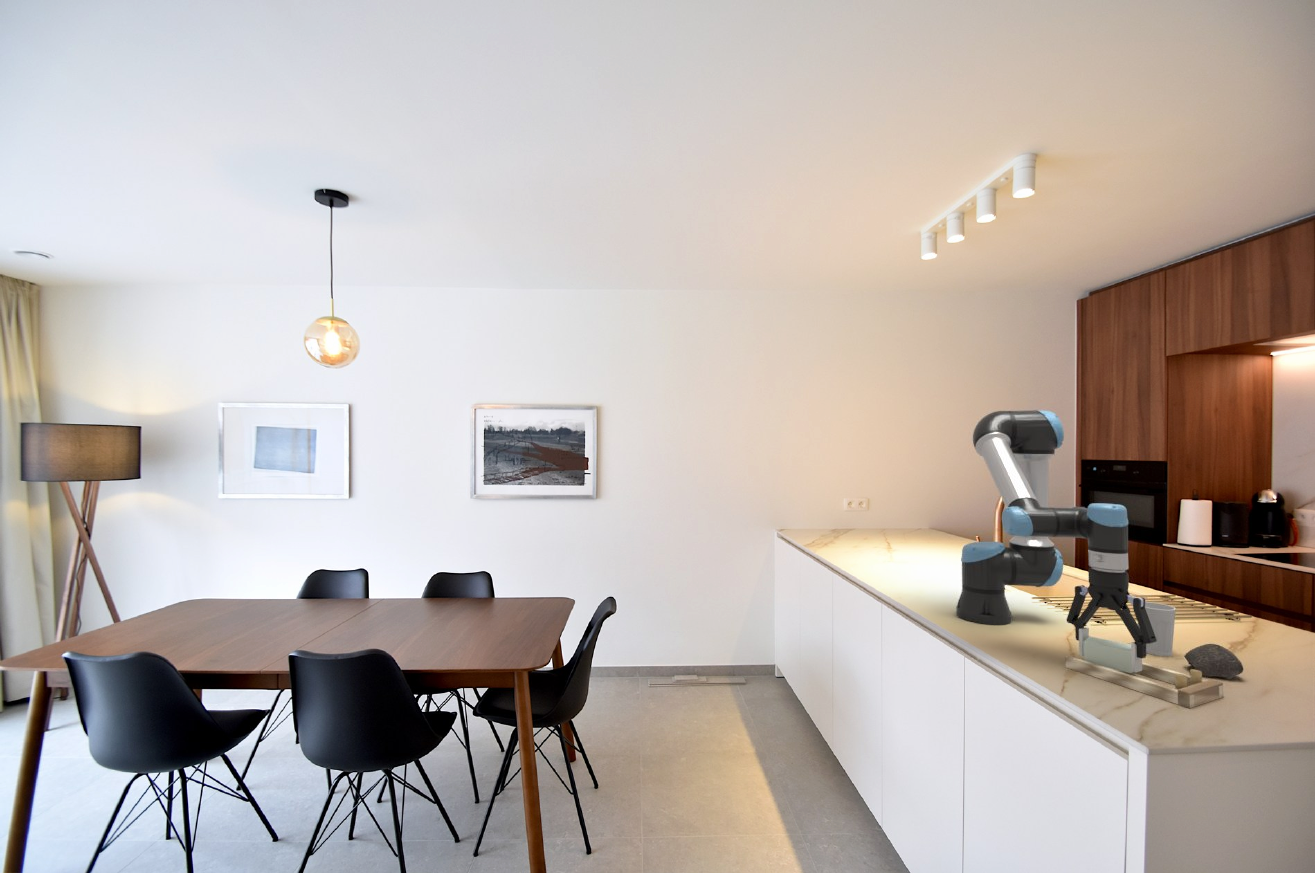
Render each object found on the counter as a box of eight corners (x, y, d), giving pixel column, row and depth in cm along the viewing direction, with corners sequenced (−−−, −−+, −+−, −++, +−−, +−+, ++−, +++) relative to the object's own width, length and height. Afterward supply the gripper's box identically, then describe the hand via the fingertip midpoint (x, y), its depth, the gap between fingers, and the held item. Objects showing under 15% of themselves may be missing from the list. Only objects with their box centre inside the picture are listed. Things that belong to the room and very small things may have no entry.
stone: (1179, 683, 139) (1189, 664, 133) (1180, 652, 143) (1190, 632, 137) (1235, 699, 133) (1249, 681, 127) (1234, 666, 138) (1247, 646, 131)
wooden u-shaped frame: (1065, 667, 139) (1065, 646, 139) (1098, 659, 144) (1098, 639, 144) (1190, 708, 117) (1189, 683, 117) (1223, 696, 122) (1222, 673, 123)
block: (1083, 662, 138) (1083, 641, 138) (1089, 656, 142) (1089, 636, 142) (1131, 673, 131) (1131, 651, 131) (1136, 666, 135) (1136, 645, 135)
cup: (1184, 658, 145) (1183, 610, 145) (1148, 656, 146) (1147, 609, 147) (1163, 647, 153) (1162, 602, 153) (1129, 645, 154) (1128, 600, 154)
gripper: (1048, 561, 146) (1049, 649, 145) (1157, 580, 125) (1158, 683, 124) (1067, 559, 149) (1068, 645, 148) (1175, 577, 128) (1177, 677, 127)
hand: (1109, 662), depth 136 cm, fingers closed on block, 10 cm apart
